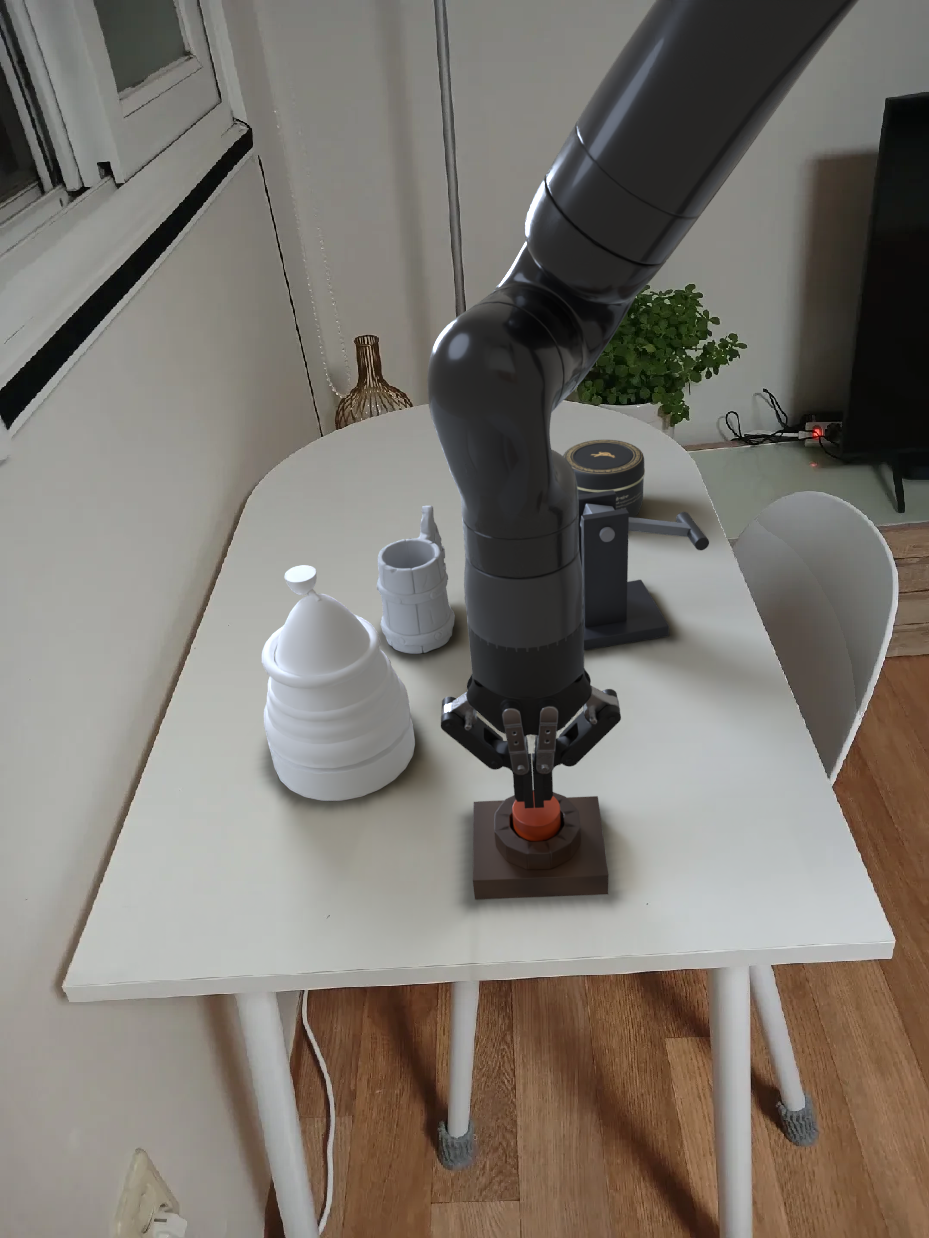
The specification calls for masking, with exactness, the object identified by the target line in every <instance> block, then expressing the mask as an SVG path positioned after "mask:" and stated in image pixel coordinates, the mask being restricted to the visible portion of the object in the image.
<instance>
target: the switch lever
mask: <svg viewBox="0 0 929 1238" xmlns="http://www.w3.org/2000/svg"><path fill="white" fill-rule="evenodd" d="M613 510H614V508H613V507H612V506H604V505H595V504H586V505H585V509H584V512H583V515H587V514H594V513H600V512H607V511H613ZM580 526H581V522H580ZM628 532H635V533H636V532H638V533H646V534H655V535H666V536H673V537H684V538H688V539H689V541H690V543H691V544H692V545H693V546H694V548H695V549H696V550H697V551H705V549H706V550H707V548H708V547H709V545H710V540H709V538H708V537H707V536H706V534H705V533H704V532H703V530H702V529H701V528H700V527H699V525H698V524H697V523H696V521H695V519H693V518H692V516H691V515H690V514H689V513H688V512H687V511H681V512H679V513H678V514H677V515H676V517H675V521H669V520H660V519H651V518H649V519H648V518H642V517H641V518H640V517H635V518H632V517H629V529H628Z"/></svg>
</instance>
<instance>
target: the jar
mask: <svg viewBox="0 0 929 1238" xmlns="http://www.w3.org/2000/svg"><path fill="white" fill-rule="evenodd" d="M562 456H564V457H565V458H566V460H567V461H568V462H569V463H570V464H571V466H572V468H573V470H574V472H575V476H576V481H577V487H578V495H583V494H590V493H596V492H603V491H610V490H614V492H615V493H616V510H619V509H626V510H627V511H628V513H629V517H632V518H637V516H638V515H639V513H640V511H641V508H642V504H643V501H644V500H643V499H644V478H645V474H646V473H645V472H646V468H645V456H644V453H643V451H642V450H641V449H640V448H638V447H637V446H636V445H633V444H632V443H629V442H626V441H622V440H618V439H617V440H616V439H594V440H593V439H592V440H587V441H584V442H580V443H577V444H575V445H573V446H571V447H569V448H568V449H567V450H565V452H564V453H563V455H562Z"/></svg>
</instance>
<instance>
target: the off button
mask: <svg viewBox="0 0 929 1238" xmlns="http://www.w3.org/2000/svg"><path fill="white" fill-rule="evenodd" d="M533 799H534V791H533ZM512 812H513V825H514V829H515V831H516V832H517V834H518V835H519V836H521V837H522V838H524V839H526V840H529V841H535V842H538V841H545V840H548V839H550V838H552V837H553V836H555V835H556V834H557V832H558V831H559V829H560V825H561V817H560V804H559V802H558V801H557V799H556V798H555V797H554V796H553V797H552V798H551V800H549V801H544V808H535V804H534V808H525V805H524V802H517V800H515V802H514V804H513V807H512Z"/></svg>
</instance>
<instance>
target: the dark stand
mask: <svg viewBox="0 0 929 1238" xmlns="http://www.w3.org/2000/svg"><path fill="white" fill-rule="evenodd" d="M578 497H579V553H580V560H581V565H582V572H583V583H584V651H589V650H595V649H600V648H606V647H610V646H613V647H614V646H618V645H624V644H629V643H630V644H631V643H637V642H642V641H648V640H654V639H660V638H666V637H669V636H670V625H669V623H668V621H667V620H666V618H665V617H664V615H663V613H662V611H661V610H660V608H659V606H658V605H657V603H656V602H655V600H654V599H653V597H652V595H651V594H650V591H649V590H648V588H647V587H646V585H645V584H644V582H643V580H642V579H636V580H635V579H634V580H629V581H628V579H629V577H628V576H629V575H628V573H629V572H628V571H629V569H628V568H629V531H628V529H629V513H628V511H627V510H626V509H619V510H616V493H615V492H614V490H610V491H603V492H596V493H590V494H583V495H578ZM586 504H595V505H604V506H612V507H613V508H614V510H613V511H607V512H600V513H594V514H587V515H583V512H584V509H585V505H586ZM580 522H581V526H580Z"/></svg>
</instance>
